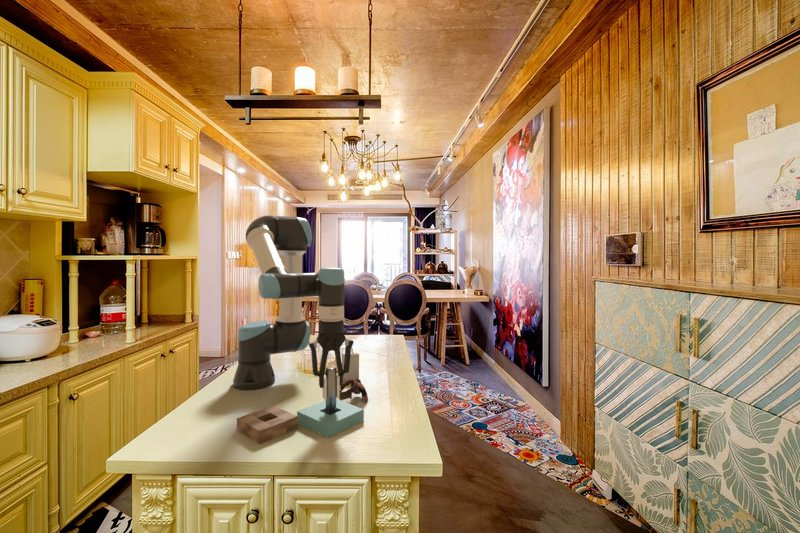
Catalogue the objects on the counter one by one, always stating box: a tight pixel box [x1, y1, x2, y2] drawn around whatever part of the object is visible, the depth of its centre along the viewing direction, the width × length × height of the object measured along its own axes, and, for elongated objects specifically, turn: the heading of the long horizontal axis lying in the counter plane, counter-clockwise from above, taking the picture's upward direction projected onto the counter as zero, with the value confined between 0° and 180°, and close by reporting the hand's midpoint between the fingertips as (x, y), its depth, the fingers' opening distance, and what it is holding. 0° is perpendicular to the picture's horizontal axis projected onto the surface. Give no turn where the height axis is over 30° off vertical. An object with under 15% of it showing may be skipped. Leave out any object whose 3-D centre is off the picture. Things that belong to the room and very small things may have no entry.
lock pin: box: [325, 366, 338, 415], centre depth 115 cm, size 3×3×14 cm
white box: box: [341, 353, 360, 381], centre depth 154 cm, size 4×7×10 cm, turn 95°
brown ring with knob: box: [338, 378, 369, 404], centre depth 133 cm, size 12×10×8 cm
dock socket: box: [296, 398, 365, 438], centre depth 115 cm, size 14×14×4 cm
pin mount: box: [236, 405, 299, 444], centre depth 110 cm, size 12×12×4 cm
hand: (330, 396), depth 115 cm, fingers closed on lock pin, 3 cm apart
